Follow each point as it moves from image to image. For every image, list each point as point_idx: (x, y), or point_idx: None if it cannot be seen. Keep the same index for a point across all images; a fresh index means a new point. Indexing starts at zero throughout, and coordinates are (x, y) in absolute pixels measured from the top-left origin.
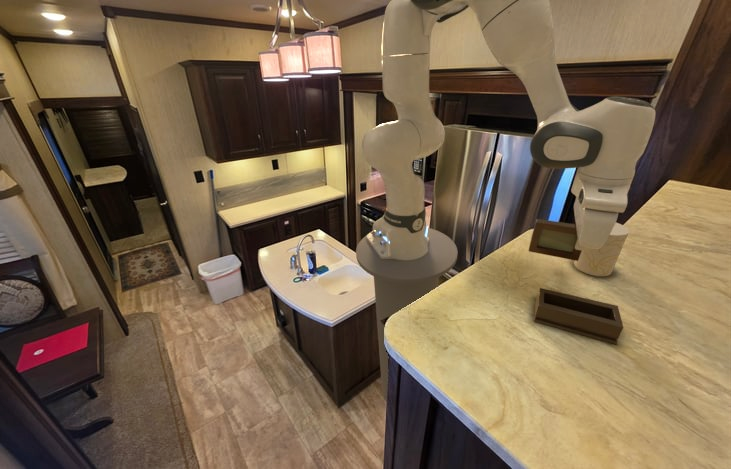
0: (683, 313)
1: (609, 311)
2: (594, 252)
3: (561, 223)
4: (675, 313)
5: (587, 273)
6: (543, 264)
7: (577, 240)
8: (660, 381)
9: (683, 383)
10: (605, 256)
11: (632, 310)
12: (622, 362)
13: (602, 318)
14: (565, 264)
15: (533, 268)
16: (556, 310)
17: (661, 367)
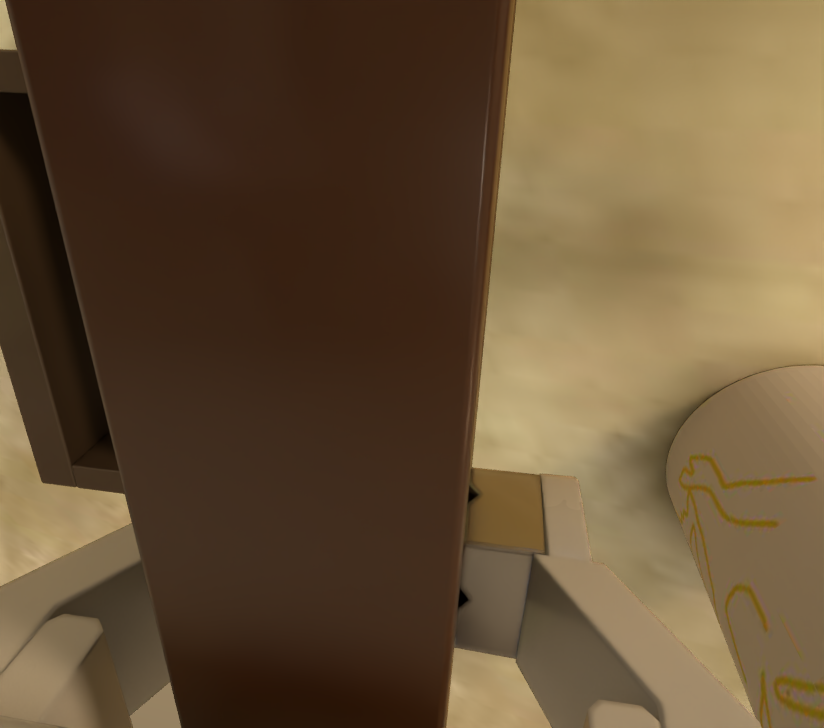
0: None
1: None
2: (755, 548)
3: (338, 388)
4: None
5: (685, 424)
6: (778, 128)
7: (109, 537)
8: (5, 501)
9: (43, 553)
10: (716, 597)
11: None
12: (11, 419)
13: (46, 414)
14: (802, 305)
15: (686, 33)
16: None
17: (74, 523)
